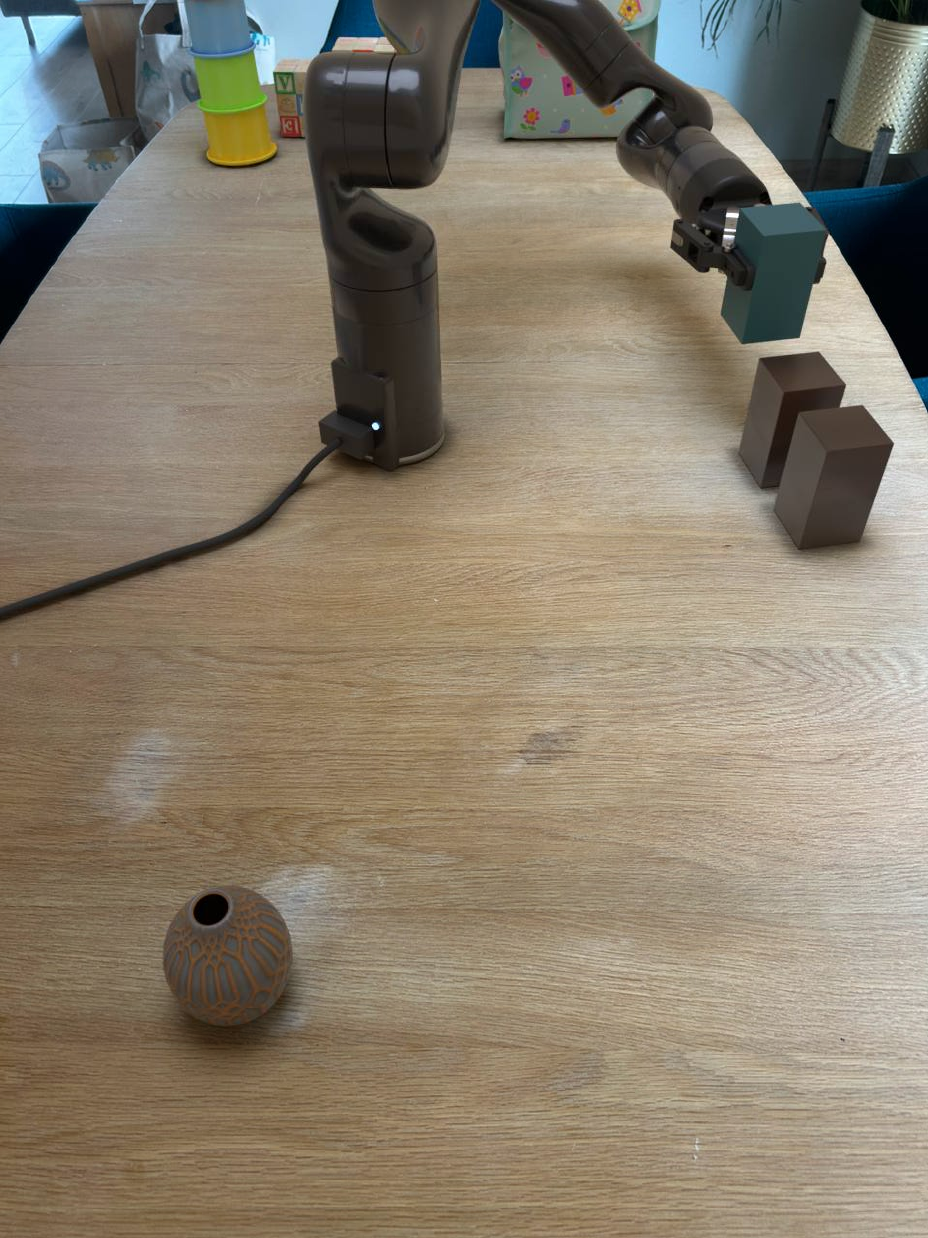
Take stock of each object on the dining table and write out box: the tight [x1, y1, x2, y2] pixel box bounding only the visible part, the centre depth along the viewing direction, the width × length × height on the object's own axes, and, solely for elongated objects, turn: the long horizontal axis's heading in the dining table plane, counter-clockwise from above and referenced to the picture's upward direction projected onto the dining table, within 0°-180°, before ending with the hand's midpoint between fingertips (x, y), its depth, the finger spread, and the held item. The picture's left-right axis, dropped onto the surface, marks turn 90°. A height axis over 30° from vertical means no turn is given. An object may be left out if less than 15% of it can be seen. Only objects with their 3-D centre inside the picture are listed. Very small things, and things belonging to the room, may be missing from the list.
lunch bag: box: [497, 0, 662, 140], centre depth 144 cm, size 23×16×27 cm
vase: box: [162, 885, 294, 1027], centre depth 55 cm, size 7×7×9 cm
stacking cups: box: [183, 0, 278, 167], centre depth 135 cm, size 10×10×35 cm
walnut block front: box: [773, 404, 895, 550], centre depth 82 cm, size 6×6×10 cm
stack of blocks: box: [272, 36, 398, 138], centre depth 149 cm, size 21×6×12 cm, turn 84°
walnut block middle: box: [738, 351, 847, 489], centre depth 88 cm, size 6×6×10 cm
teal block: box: [720, 202, 826, 345], centre depth 88 cm, size 6×6×10 cm
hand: (784, 277), depth 85 cm, fingers closed on teal block, 5 cm apart
